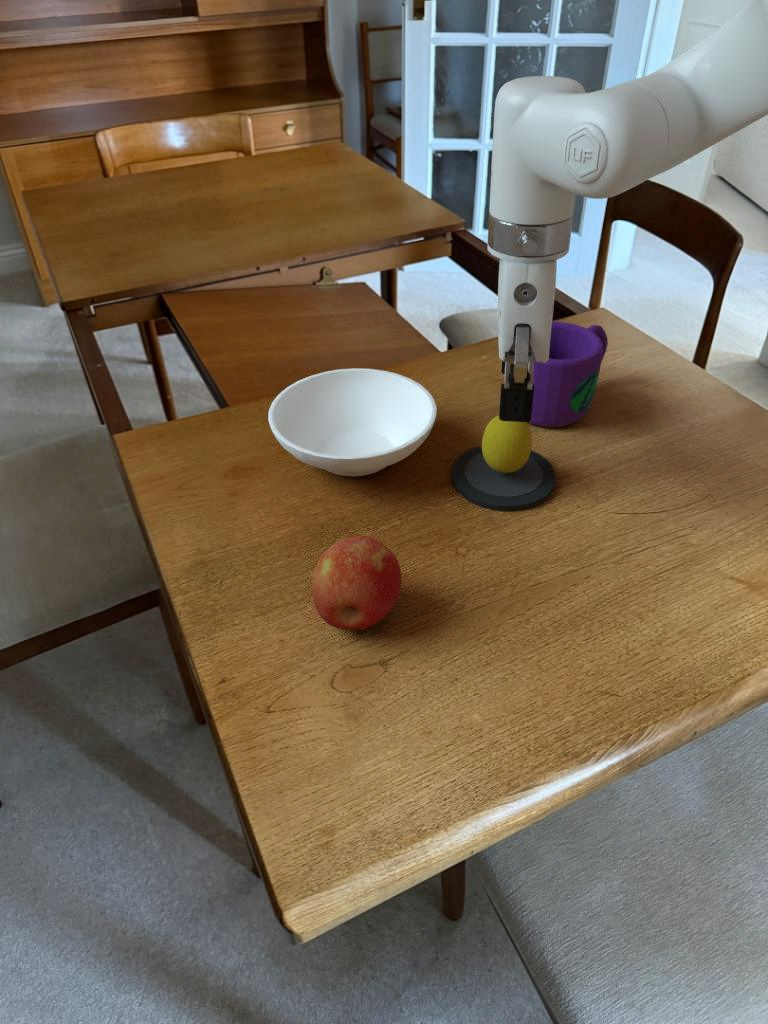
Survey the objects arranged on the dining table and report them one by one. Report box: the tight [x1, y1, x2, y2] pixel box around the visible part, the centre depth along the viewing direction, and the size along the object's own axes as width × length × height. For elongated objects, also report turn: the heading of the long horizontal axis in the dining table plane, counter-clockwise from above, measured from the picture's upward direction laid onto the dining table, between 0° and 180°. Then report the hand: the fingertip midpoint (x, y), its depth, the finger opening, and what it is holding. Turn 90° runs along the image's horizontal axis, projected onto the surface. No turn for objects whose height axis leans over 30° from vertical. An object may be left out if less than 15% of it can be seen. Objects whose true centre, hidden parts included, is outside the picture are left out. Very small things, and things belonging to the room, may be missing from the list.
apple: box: [311, 535, 402, 631], centre depth 68 cm, size 8×8×8 cm
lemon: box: [481, 414, 533, 474], centre depth 83 cm, size 6×6×8 cm
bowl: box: [267, 367, 438, 477], centre depth 88 cm, size 20×20×7 cm
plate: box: [451, 445, 557, 512], centre depth 86 cm, size 12×12×1 cm
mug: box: [527, 321, 609, 428], centre depth 96 cm, size 17×11×10 cm, turn 133°
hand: (515, 395), depth 79 cm, fingers open, 9 cm apart
